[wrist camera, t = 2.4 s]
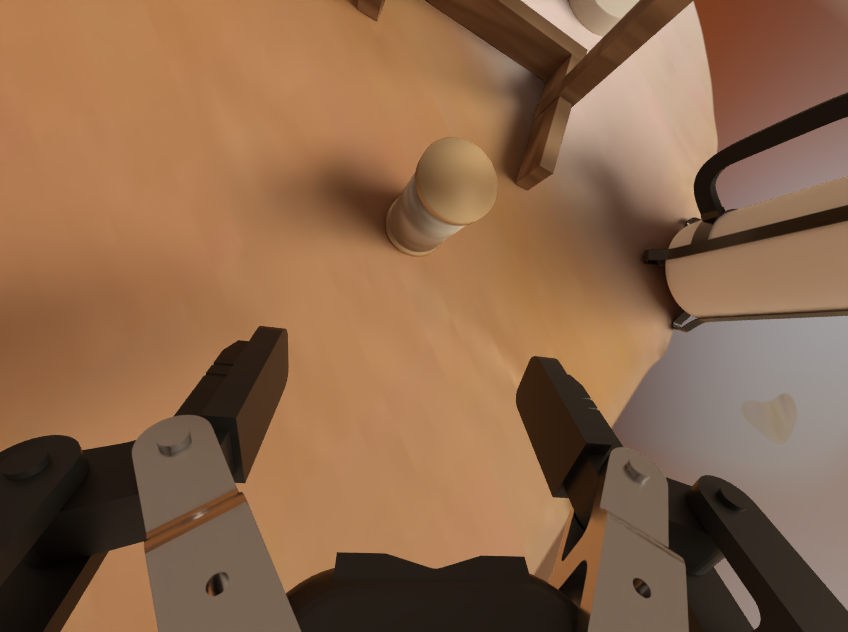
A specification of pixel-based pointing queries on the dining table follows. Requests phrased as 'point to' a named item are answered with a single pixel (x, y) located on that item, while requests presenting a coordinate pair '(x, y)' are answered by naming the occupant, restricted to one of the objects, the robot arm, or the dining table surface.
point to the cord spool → (442, 196)
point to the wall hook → (601, 13)
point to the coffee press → (762, 242)
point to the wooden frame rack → (551, 60)
